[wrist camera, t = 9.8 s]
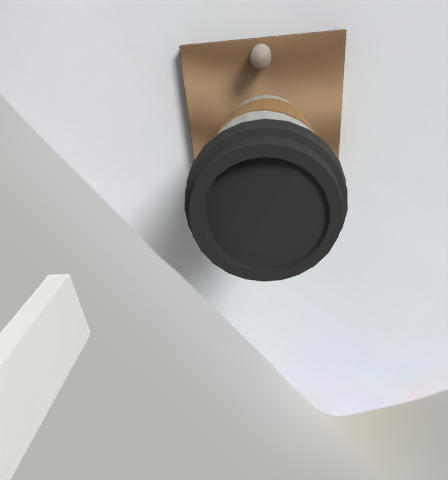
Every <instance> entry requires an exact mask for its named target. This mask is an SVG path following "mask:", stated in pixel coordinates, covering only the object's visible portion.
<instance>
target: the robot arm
mask: <svg viewBox="0 0 448 480" xmlns="http://www.w3.org/2000/svg"><path fill="white" fill-rule="evenodd" d="M90 334H91V333H90V330H89V328H88V325H87V322H86V319H85V316H84V313H83V311H82V308H81V305H80V302H79V299H78V297H77V294H76V291H75V289H74V285H73V283H72V280H71V277H70V275H69V274H64V275H48V276H47V278H46V279H45V280H44V281H43V282H42V284H41V285H40V286H39V287H38V289H37V290H36V291H35V292H34V293H33V294H32V296H31V297H30V298H29V299H28V301H27V302H26V303H25V304H24V305H23V306H22V308H21V309H20V310H19V311H18V312H17V314H16V315H15V316H14V317H13V319H12V320H11V321H10V322H9V323H8V325H7V326H6V327H5V328H4V329H3V331H2V332H1V333H0V480H11V478H12V477H13V475H14V473H15V471H16V469H17V467H18V466H19V464H20V462H21V460H22V458H23V456H24V455H25V453H26V451H27V449H28V447H29V445H30V443H31V442H32V440H33V438H34V436H35V435H36V433H37V431H38V429H39V427H40V425H41V424H42V422H43V420H44V418H45V416H46V414H47V412H48V410H49V409H50V407H51V405H52V403H53V402H54V400H55V398H56V396H57V394H58V392H59V391H60V389H61V387H62V385H63V383H64V381H65V379H66V378H67V376H68V374H69V372H70V370H71V369H72V367H73V365H74V363H75V361H76V360H77V358H78V356H79V354H80V352H81V350H82V348H83V347H84V345H85V343H86V341H87V339H88V338H89V336H90Z"/></svg>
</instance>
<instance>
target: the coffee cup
mask: <svg viewBox="0 0 448 480" xmlns="http://www.w3.org/2000/svg"><path fill="white" fill-rule="evenodd" d="M347 210H348V205H347V187H346V179H345V176H344V173H343V170H342V167H341V164H340V161H339V159H338V158H337V157H336V155H335V154H334V152H333V151H332V149H331V148H330V147H329V145H328V144H327V143H326V142H325V141H324V140H322V139H321V138H320V137H319V136H318V135H317V133H316V132H315V131H314V129H313V128H312V127H311V125H310V124H309V123H308V121H307V120H306V119H305V117H304V116H303V115H302V113H301V112H300V111H299V110H297V109H296V107H295V106H293V105H292V104H291V103H289V102H288V101H287V100H285V99H282V98H280V97H278V96H273V95H260V96H254V97H252V98H250V99H248V100H246V101H244V102H243V103H241V104H240V105H239V106H238V107H237V108H236V109H235V110H234V112H233V113H231V114H230V115H229V117H228V118H227V119H226V121H225V122H224V124H223V125H222V126H221V128H220V129H219V131H218V132H217V133H216V135H215V136H214V138H213V139H212V140H210V141H209V142H208V143H207V144H206V145H205V146H204V147H203V149H202V150H201V152H200V153H199V154H198V156H197V157H196V159H195V160H194V162H193V164H192V167H191V170H190V173H189V176H188V179H187V186H186V190H185V213H186V217H187V221H188V225H189V228H190V230H191V232H192V234H193V237H194V239H195V241H196V242H197V244H198V246H199V248H200V249H201V251H202V252H203V253H204V254H205V255H206V256H207V257H208V258H209V259H210V260H211V262H212V263H213V264H215V265H216V266H218V267H220V268H221V269H223V270H224V271H226V272H228V273H229V274H232V275H235V276H238V277H241V278H244V279H248V280H256V281H275V280H283V279H287V278H290V277H293V276H296V275H299V274H301V273H303V272H305V271H306V270H308V269H310V268H312V267H313V266H315V265H316V264H317V263H318V262H319V261H320V260H321V259H323V258H324V257H325V256H326V255H327V254H328V253H329V251H330V250H331V248H332V246H333V245H334V243H335V241H336V240H337V238H338V236H339V233H340V231H341V230H342V228H343V224H344V221H345V217H346V213H347Z"/></svg>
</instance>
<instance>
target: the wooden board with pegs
mask: <svg viewBox="0 0 448 480" xmlns="http://www.w3.org/2000/svg"><path fill="white" fill-rule="evenodd" d="M345 45H346V30H344V29H343V30H333V31H323V32H312V33H302V34H292V35H281V36H271V37H261V38H250V39H240V40H229V41H219V42H209V43H198V44H188V45H181V46H179V48H180V56H181V63H182V71H183V78H184V86H185V93H186V101H187V109H188V116H189V124H190V131H191V139H192V146H193V154H194V160H195V159H196V157H197V156H198V154H199V153H200V152H201V150H202V149H203V147H204V146H205V145H206V144H207V143H208V142H209V141H210V140H212V139H213V138H214V136H215V135H216V133H217V132H218V131H219V129H220V128H221V126H222V125H223V124H224V122H225V121H226V119H227V118H228V117H229V115H230V114H231V113H233V112H234V110H235V109H236V108H237V107H238V106H239V105H240V104H241V103H243V102H244V101H246V100H248V99H250V98H252V97H254V96H260V95H273V96H278V97H280V98H282V99H285V100H287V101H288V102H289V103H291V104H292V105H293V106H295V107H296V109H297V110H299V111H300V112H301V113H302V115H303V116H304V117H305V119H306V120H307V121H308V123H309V124H310V125H311V127H312V128H313V129H314V131H315V132H316V133H317V135H318V136H319V137H320V138H321V139H322V140H324V141H325V142H326V143H327V144H328V145H329V147H330V148H331V149H332V151H333V152H334V154H335V155H336V157H337V158H338V159H339V143H340V126H341V110H342V94H343V78H344V62H345Z"/></svg>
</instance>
